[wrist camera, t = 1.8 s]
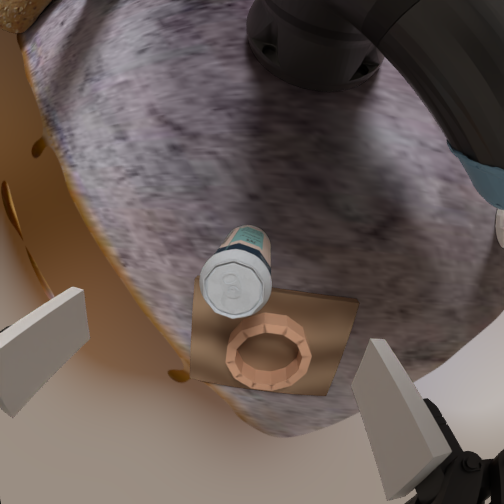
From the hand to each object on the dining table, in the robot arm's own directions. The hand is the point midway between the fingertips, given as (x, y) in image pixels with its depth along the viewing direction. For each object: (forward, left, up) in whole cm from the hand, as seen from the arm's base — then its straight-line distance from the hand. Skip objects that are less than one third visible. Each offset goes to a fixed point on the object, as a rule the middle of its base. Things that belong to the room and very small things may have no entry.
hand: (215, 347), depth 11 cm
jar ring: (+11, +4, -17) cm, 20 cm away
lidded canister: (0, 0, -18) cm, 18 cm away
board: (+11, +4, -18) cm, 22 cm away
